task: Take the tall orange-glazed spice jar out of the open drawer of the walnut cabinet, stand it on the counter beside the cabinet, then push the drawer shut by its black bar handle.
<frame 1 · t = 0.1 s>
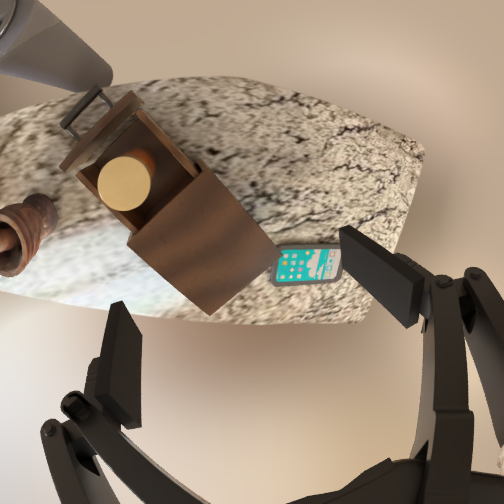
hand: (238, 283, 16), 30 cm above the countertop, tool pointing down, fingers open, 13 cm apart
mortar and pestle: (32, 217, 37), on the countertop
smartphone: (309, 263, 55), on the countertop
spice jar: (140, 163, 38), point 2 cm above the countertop, touching drawer
cabinet: (199, 222, 46), on the countertop
drawer: (123, 152, 33), point 5 cm above the countertop, slide at 12.0 cm, touching spice jar
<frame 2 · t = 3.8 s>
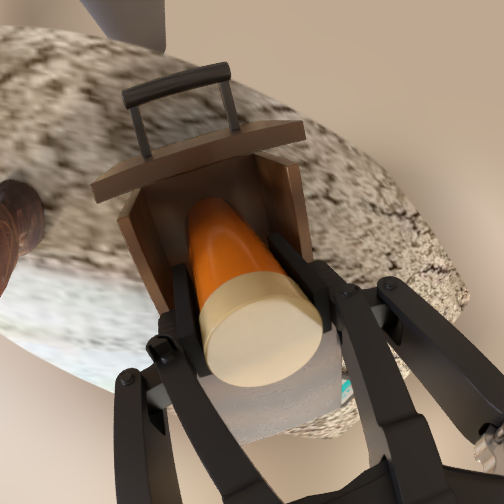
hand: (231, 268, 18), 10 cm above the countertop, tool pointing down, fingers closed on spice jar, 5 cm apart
mortar and pestle: (4, 213, 20), on the countertop
smartphone: (326, 388, 43), on the countertop
spice jar: (213, 225, 25), point 2 cm above the countertop, touching drawer, gripper
cabinet: (244, 325, 33), on the countertop
drawer: (209, 206, 21), point 5 cm above the countertop, slide at 12.0 cm, touching spice jar
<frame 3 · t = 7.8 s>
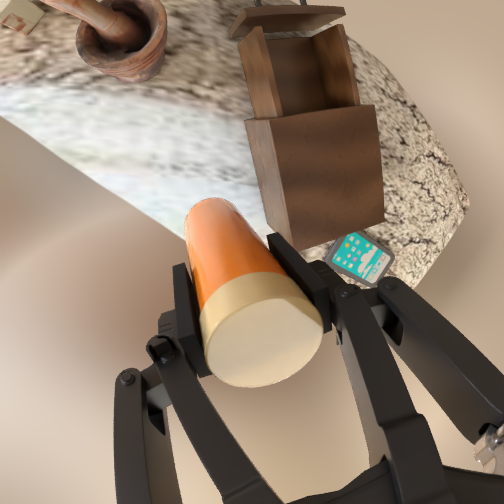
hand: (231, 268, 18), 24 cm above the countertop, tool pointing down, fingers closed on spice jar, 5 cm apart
mortar and pestle: (125, 56, 28), on the countertop
smartphone: (361, 257, 52), on the countertop
spice jar: (213, 226, 25), point 16 cm above the countertop, touching gripper
cabinet: (299, 162, 41), on the countertop
drawer: (292, 48, 29), point 5 cm above the countertop, slide at 12.0 cm
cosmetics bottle: (28, 20, 20), on the countertop
when the fingers open (8 cm above the countertop, at t = 11.6 s): spice jar stays where it is, on the countertop.
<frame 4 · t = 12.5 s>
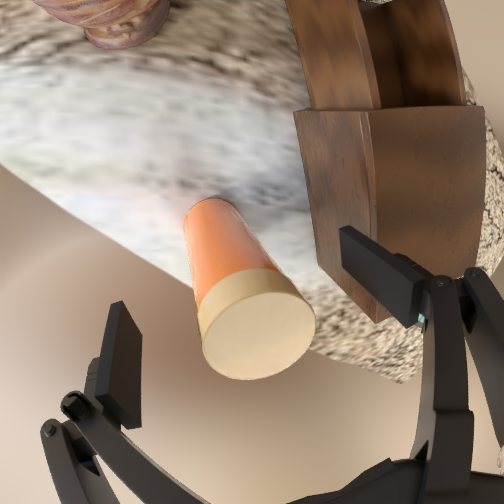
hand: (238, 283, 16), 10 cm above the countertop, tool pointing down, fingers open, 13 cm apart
mortar and pestle: (108, 11, 15), on the countertop
spice jar: (212, 225, 25), on the countertop
cabinet: (366, 178, 27), on the countertop
drawer: (370, 10, 15), point 5 cm above the countertop, slide at 12.0 cm
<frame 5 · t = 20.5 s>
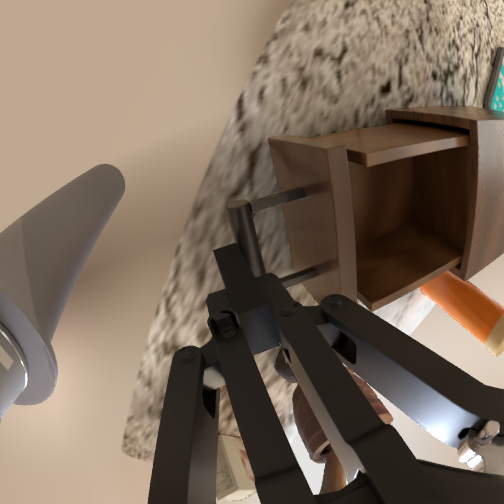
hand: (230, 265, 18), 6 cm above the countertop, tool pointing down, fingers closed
mortar and pestle: (297, 363, 34), on the countertop
smartphone: (501, 90, 25), on the countertop
spice jar: (432, 278, 35), on the countertop
cabinet: (438, 164, 27), on the countertop
drawer: (363, 212, 20), point 5 cm above the countertop, slide at 11.3 cm, touching gripper
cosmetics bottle: (222, 441, 38), on the countertop
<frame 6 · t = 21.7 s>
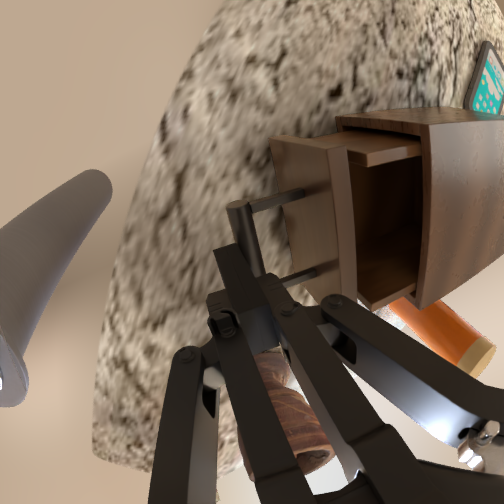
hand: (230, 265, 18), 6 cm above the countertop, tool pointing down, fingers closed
mortar and pestle: (252, 380, 33), on the countertop
smartphone: (486, 88, 25), on the countertop
spice jar: (402, 294, 34), on the countertop
cabinet: (405, 173, 26), on the countertop
drawer: (363, 212, 20), point 5 cm above the countertop, slide at 5.4 cm, touching gripper
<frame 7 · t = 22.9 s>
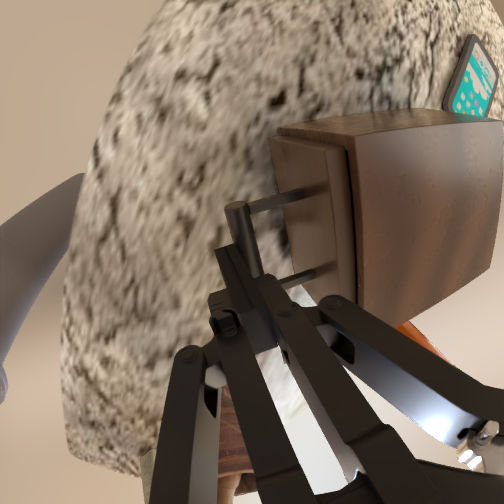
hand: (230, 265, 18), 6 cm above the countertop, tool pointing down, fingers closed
mortar and pestle: (209, 394, 32), on the countertop
smartphone: (471, 87, 23), on the countertop
spice jar: (370, 312, 33), on the countertop
cabinet: (366, 184, 25), on the countertop
drawer: (363, 214, 20), point 5 cm above the countertop, slide at 0.0 cm, touching cabinet, gripper
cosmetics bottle: (157, 455, 37), on the countertop
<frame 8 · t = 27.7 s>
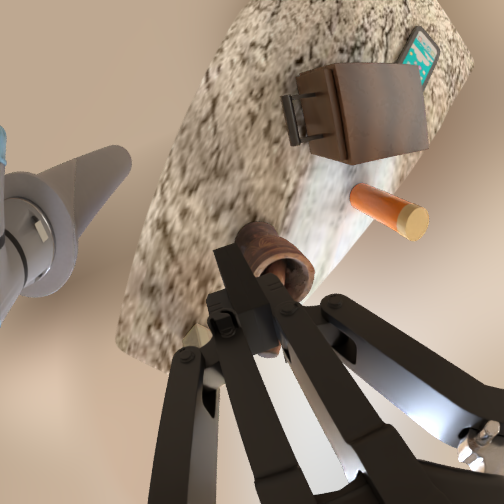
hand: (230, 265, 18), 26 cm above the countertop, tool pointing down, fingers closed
mortar and pestle: (252, 250, 49), on the countertop
smartphone: (417, 58, 40), on the countertop
spice jar: (360, 196, 50), on the countertop
cabinet: (348, 108, 42), on the countertop
drawer: (345, 111, 37), point 5 cm above the countertop, slide at 0.0 cm, touching cabinet
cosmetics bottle: (198, 334, 53), on the countertop
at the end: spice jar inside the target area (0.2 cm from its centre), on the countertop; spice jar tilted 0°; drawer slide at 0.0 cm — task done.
